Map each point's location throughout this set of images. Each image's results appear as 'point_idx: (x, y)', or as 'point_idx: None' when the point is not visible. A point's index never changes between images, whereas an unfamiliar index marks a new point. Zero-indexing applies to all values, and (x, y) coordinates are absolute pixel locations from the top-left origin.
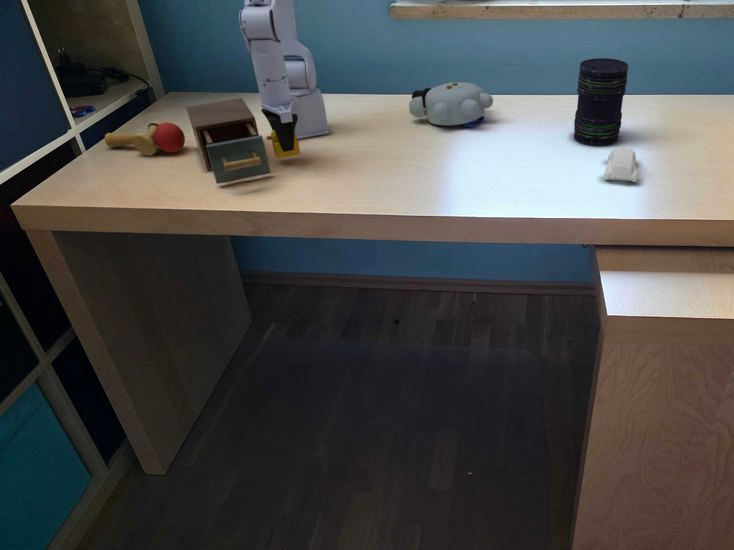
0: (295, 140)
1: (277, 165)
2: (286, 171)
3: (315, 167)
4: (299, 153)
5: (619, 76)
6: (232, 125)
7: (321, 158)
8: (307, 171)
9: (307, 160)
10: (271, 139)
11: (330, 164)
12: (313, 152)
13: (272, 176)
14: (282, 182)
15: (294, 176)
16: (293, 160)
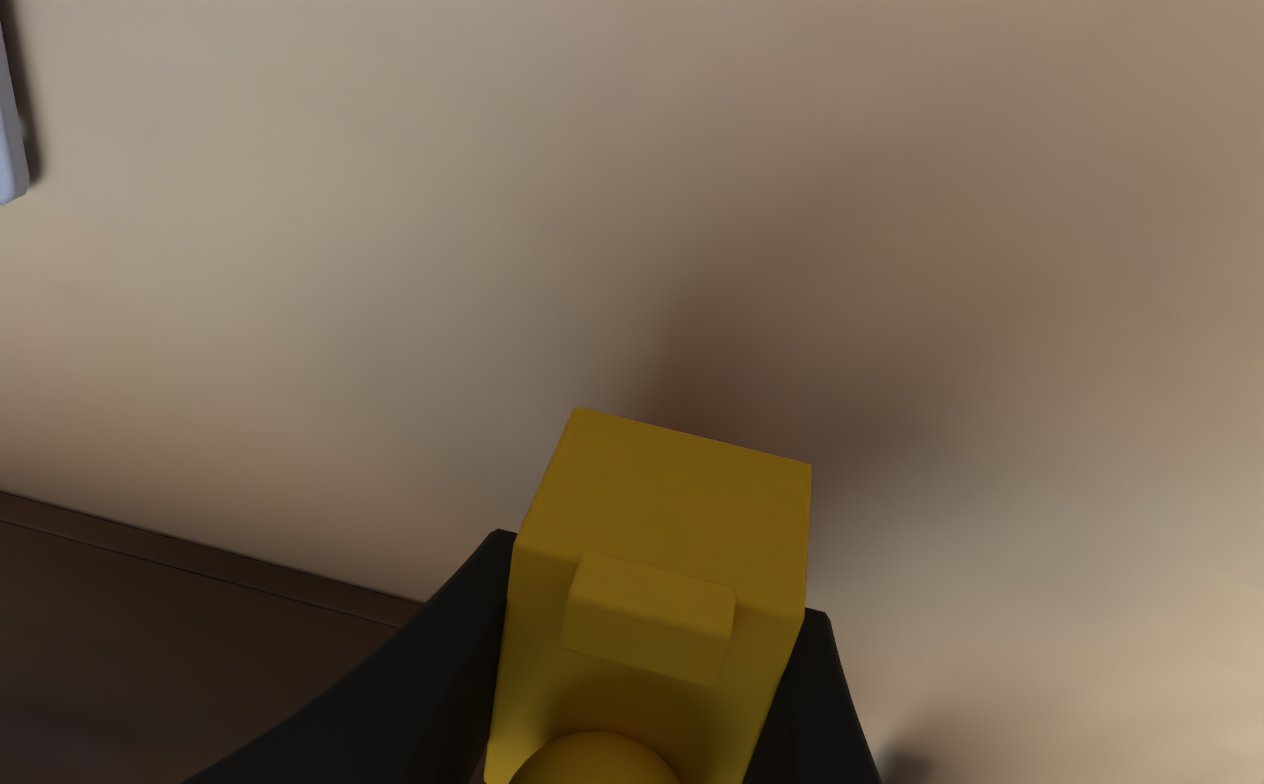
0: (788, 645)
1: None
2: (912, 618)
3: (1104, 350)
4: (807, 483)
5: None
6: None
7: (879, 125)
8: (1125, 479)
9: (795, 311)
10: (497, 781)
11: (1214, 133)
12: (579, 106)
13: (916, 744)
14: (1140, 761)
15: (1116, 632)
16: None
